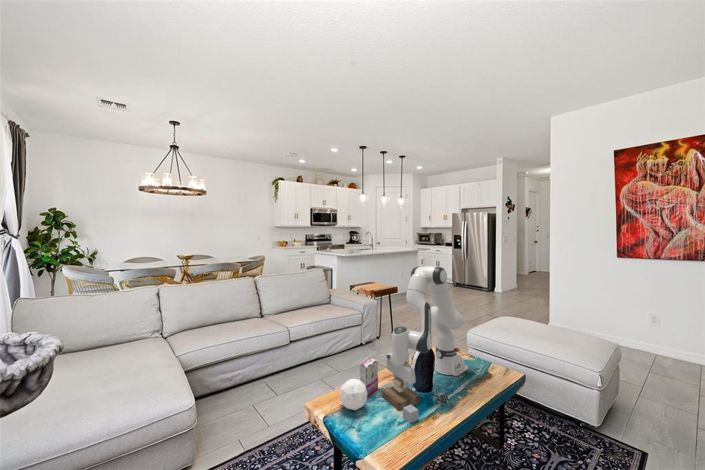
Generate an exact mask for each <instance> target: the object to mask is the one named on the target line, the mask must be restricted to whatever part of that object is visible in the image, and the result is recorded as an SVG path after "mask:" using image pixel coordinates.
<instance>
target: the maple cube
mask: <svg viewBox="0 0 705 470" xmlns="http://www.w3.org/2000/svg"><path fill="white" fill-rule="evenodd" d="M397 377H398V376H397ZM402 384H404V382H403V380H402V379H400V378H399V377H398V378H394V377H393V386H394V389H395V390H397V391H398V392H403V391H406V390H407V388H405V389H404V388H403V387H402Z"/></svg>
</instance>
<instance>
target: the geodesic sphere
mask: <svg viewBox="0 0 705 470" xmlns="http://www.w3.org/2000/svg"><path fill="white" fill-rule="evenodd" d="M339 397H340V402H341V404H342V405H343V406H344V407H345V408H346V409H348V410H352V411H357V410H358V409H360V408H363V407H364V406H365V404H366V402H367V398H368V397H367V390H366V387H365V385H364V384H363V383H362V382H361V381H360V379H357V378H356V379H355V378H351V379H348V380H347V381H345V382H344V383H343V384H342V385H341V387H340V391H339Z"/></svg>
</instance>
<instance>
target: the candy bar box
mask: <svg viewBox="0 0 705 470" xmlns="http://www.w3.org/2000/svg"><path fill="white" fill-rule="evenodd" d="M378 365H379V364H378V359H376V358H373V357H370V358H369V359H367V360H365V361H363V362H362V363H361V364H360V365H359V380H360V381H361V382H362V383H363V384H364V385H365V387H366V390H367V398H368V397H370V395H372V394H373V393H375V391H377V390H378V389H379V375H378V374H379V368H378Z"/></svg>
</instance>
